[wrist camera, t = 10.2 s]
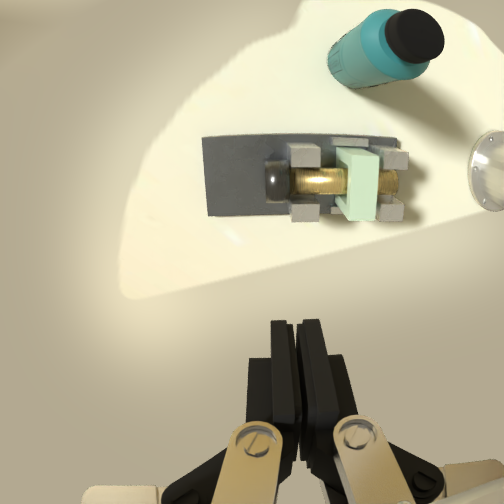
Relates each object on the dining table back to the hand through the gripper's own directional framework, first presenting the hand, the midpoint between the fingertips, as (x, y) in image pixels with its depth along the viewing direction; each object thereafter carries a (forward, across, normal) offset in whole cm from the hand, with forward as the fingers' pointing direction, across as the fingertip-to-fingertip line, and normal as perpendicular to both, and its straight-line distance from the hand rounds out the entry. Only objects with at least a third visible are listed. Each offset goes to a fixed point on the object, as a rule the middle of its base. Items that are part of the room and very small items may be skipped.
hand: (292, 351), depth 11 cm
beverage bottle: (+31, -10, -14) cm, 36 cm away
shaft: (+29, -7, 0) cm, 30 cm away
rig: (+31, -5, 0) cm, 31 cm away
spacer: (+30, -10, 0) cm, 31 cm away
